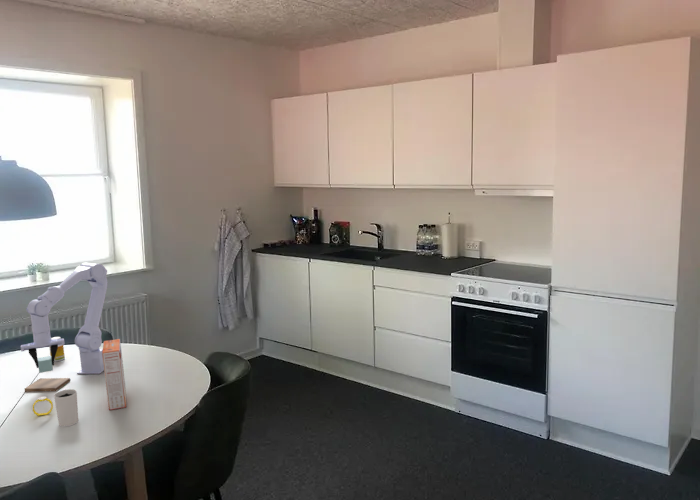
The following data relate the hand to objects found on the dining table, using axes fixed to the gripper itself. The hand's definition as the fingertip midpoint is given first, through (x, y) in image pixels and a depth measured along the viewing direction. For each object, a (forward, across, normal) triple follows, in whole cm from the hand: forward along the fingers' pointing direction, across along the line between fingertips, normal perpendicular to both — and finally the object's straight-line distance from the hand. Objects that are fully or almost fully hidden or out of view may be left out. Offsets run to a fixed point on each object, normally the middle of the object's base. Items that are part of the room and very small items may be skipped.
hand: (45, 365), depth 221 cm
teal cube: (+2, 0, 0) cm, 2 cm away
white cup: (+8, -6, +39) cm, 41 cm away
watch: (+8, +2, +28) cm, 29 cm away
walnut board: (+8, 0, 0) cm, 8 cm away
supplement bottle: (+8, -4, -32) cm, 34 cm away
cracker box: (+8, -22, +30) cm, 38 cm away
